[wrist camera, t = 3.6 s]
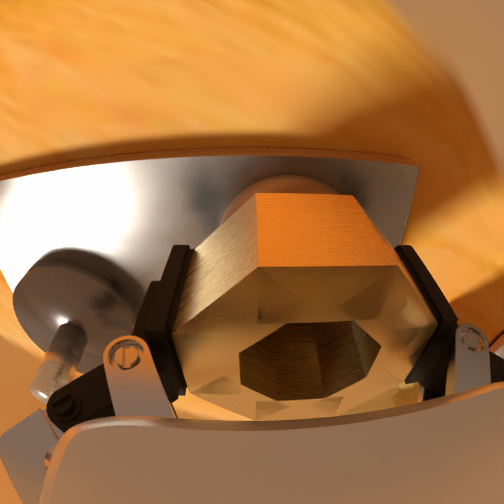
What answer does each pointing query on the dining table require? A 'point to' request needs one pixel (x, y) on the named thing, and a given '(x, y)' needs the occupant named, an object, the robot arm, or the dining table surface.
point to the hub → (70, 319)
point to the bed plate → (171, 204)
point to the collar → (298, 310)
